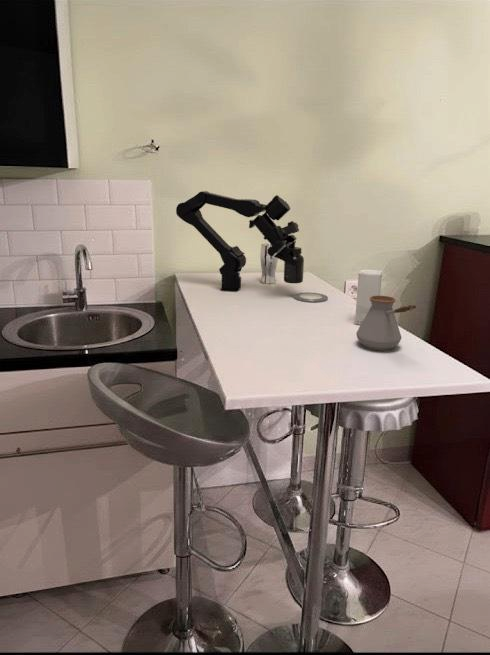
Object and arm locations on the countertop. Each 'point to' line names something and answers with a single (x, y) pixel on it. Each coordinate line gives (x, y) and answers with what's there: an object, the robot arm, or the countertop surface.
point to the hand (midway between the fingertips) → (297, 263)
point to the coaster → (310, 297)
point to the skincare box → (366, 292)
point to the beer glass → (268, 265)
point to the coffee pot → (381, 324)
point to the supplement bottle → (294, 267)
